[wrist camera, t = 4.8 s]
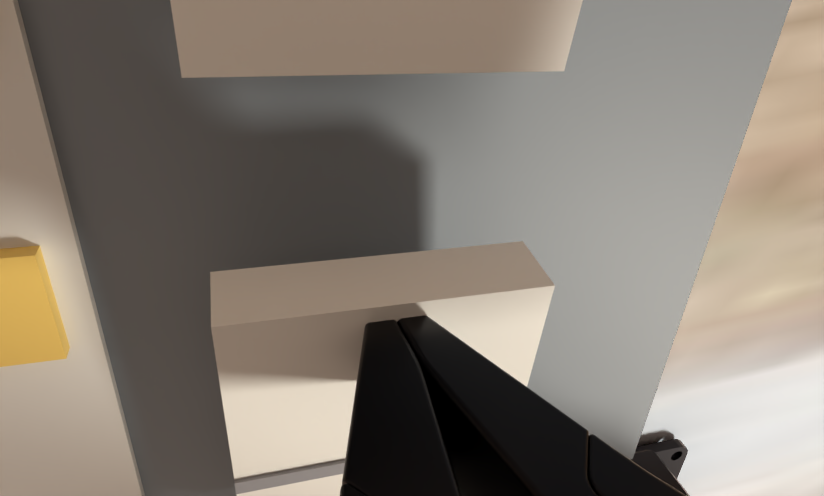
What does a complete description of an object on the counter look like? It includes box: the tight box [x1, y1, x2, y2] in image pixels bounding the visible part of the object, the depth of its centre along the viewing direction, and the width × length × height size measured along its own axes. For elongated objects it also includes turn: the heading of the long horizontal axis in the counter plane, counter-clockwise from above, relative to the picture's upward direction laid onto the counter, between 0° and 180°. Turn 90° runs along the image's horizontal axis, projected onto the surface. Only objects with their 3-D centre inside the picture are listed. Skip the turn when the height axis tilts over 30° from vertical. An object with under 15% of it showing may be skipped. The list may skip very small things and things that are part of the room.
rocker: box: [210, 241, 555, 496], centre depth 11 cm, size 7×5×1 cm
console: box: [0, 0, 792, 496], centre depth 11 cm, size 22×16×5 cm
